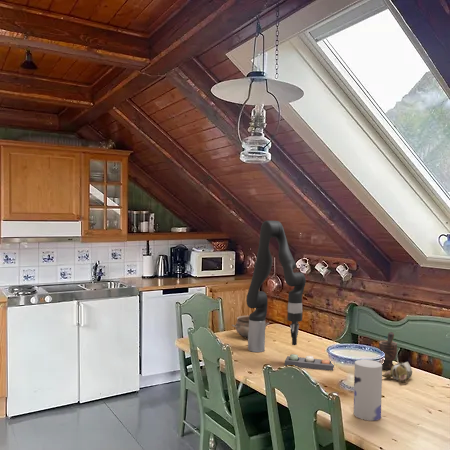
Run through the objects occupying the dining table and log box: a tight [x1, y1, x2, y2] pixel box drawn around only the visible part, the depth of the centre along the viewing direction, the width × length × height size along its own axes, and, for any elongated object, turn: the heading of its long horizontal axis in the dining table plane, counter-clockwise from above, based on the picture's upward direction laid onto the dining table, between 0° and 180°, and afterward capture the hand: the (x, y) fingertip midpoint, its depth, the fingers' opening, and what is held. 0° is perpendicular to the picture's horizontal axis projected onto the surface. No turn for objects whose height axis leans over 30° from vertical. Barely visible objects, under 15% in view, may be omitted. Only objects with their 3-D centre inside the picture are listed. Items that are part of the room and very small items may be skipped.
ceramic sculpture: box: [382, 361, 413, 383], centre depth 222 cm, size 11×9×15 cm
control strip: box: [284, 355, 335, 372], centre depth 241 cm, size 24×9×2 cm, turn 74°
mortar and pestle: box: [378, 331, 398, 371], centre depth 237 cm, size 12×9×20 cm
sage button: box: [289, 353, 299, 361], centre depth 243 cm, size 4×4×3 cm
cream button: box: [305, 355, 315, 363], centre depth 241 cm, size 4×4×3 cm
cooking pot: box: [231, 315, 270, 340], centre depth 296 cm, size 25×19×12 cm
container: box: [353, 359, 383, 422], centre depth 179 cm, size 10×10×20 cm
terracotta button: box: [321, 359, 330, 364], centre depth 238 cm, size 4×4×3 cm
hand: (294, 344), depth 243 cm, fingers closed
